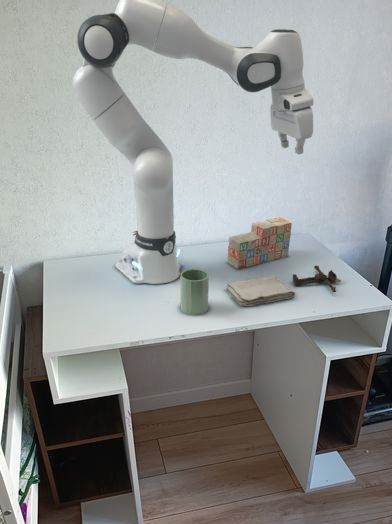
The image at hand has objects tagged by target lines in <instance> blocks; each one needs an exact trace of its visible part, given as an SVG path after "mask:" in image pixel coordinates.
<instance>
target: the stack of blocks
mask: <svg viewBox="0 0 392 524" xmlns="http://www.w3.org/2000/svg"><path fill="white" fill-rule="evenodd" d="M292 225H293V222H291V221H289V220H286V219H285V218H282V217H275V218H268V219H266V220H260V221H256V222H252V223H251V228H250V232H245V233H240V234H236V235H232V236H229V237H228V247H227V263H228V264H230V266H233V268H236V269H237V270H240V269H243V268H247V267H251V266H256V265H260V264H263V263H266V262H272V261H275V260H279V259H283V258H288V256H289V250H290V249H289V248H290V240H291V237H292V236H291V235H292Z"/></svg>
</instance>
